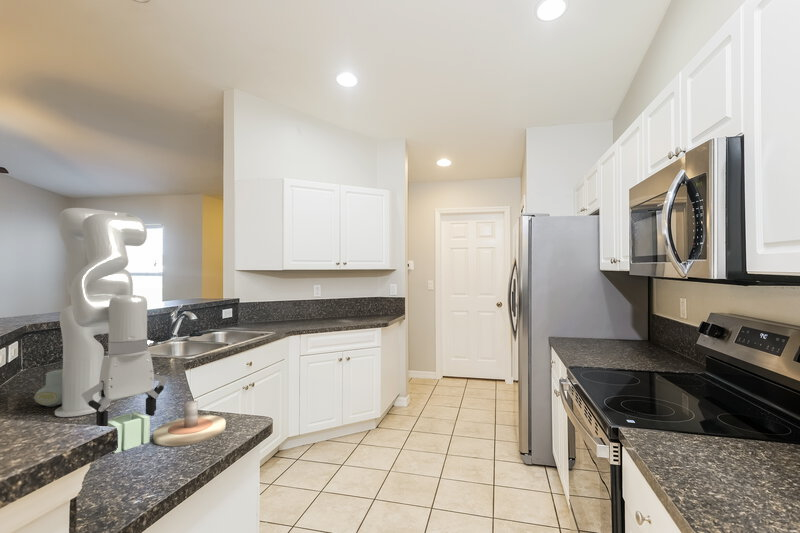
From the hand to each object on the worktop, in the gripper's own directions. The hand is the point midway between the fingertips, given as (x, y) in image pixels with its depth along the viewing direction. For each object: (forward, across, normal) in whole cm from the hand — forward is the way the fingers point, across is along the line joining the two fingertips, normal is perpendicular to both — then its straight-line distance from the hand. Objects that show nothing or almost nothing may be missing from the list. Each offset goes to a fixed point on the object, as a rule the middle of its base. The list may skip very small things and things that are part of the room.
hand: (127, 421), depth 91 cm
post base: (+6, -12, +5) cm, 14 cm away
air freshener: (+4, -1, -53) cm, 53 cm away
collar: (+6, 0, -1) cm, 6 cm away
